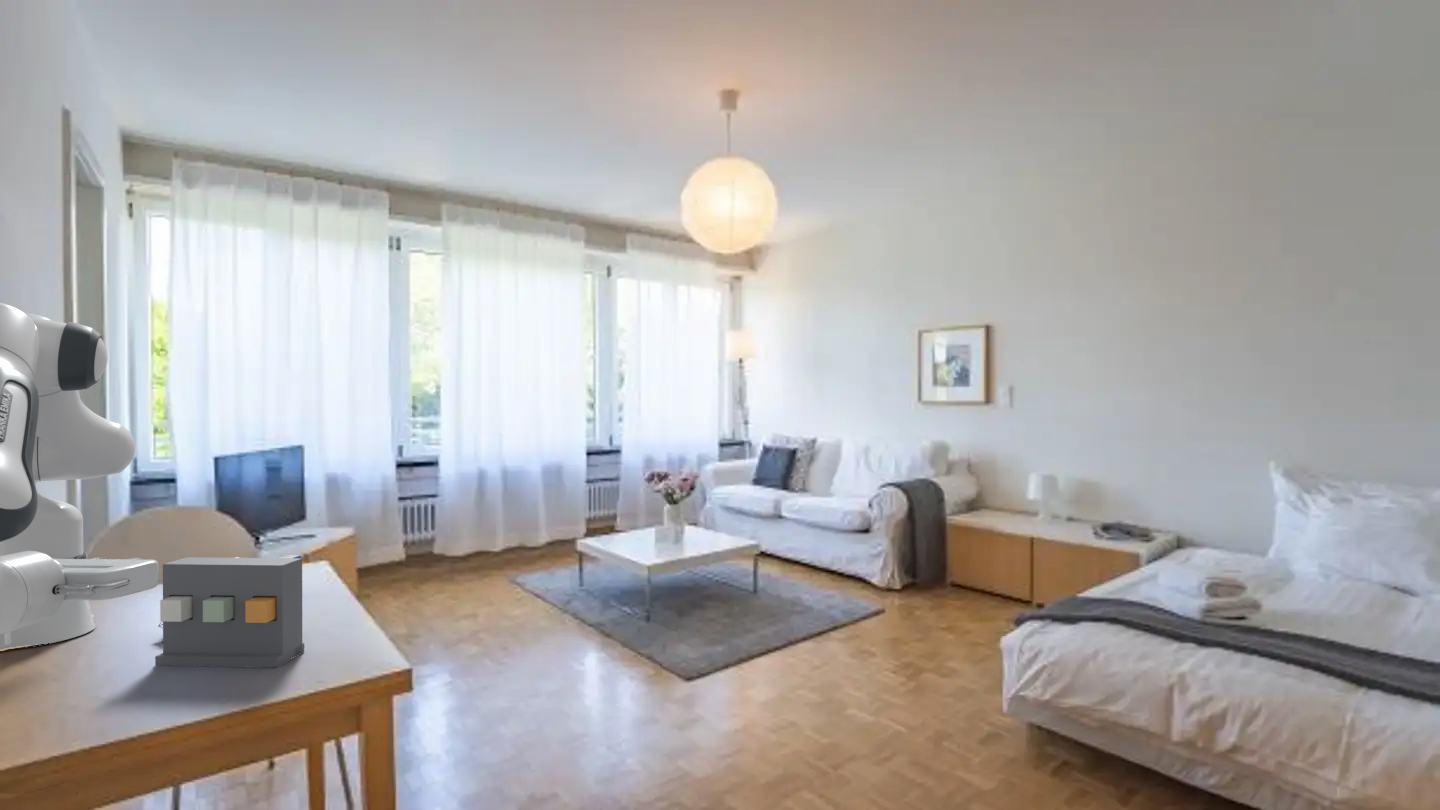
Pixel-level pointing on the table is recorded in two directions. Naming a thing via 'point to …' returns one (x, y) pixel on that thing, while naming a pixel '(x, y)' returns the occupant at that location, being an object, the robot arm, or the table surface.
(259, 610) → the button orange
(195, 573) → the button panel
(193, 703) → the table surface
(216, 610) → the button sage
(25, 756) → the table surface
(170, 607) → the button offwhite
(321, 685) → the table surface
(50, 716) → the table surface
